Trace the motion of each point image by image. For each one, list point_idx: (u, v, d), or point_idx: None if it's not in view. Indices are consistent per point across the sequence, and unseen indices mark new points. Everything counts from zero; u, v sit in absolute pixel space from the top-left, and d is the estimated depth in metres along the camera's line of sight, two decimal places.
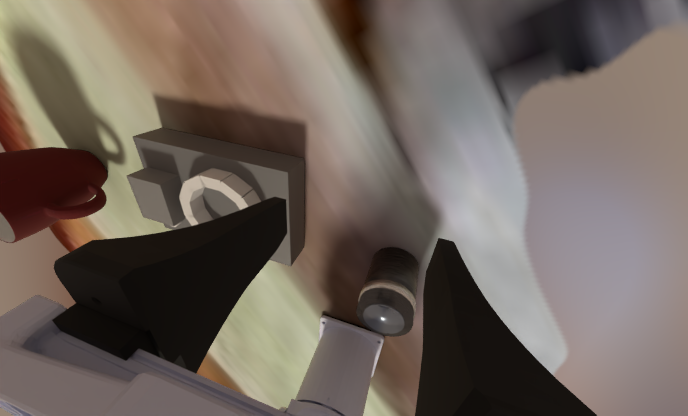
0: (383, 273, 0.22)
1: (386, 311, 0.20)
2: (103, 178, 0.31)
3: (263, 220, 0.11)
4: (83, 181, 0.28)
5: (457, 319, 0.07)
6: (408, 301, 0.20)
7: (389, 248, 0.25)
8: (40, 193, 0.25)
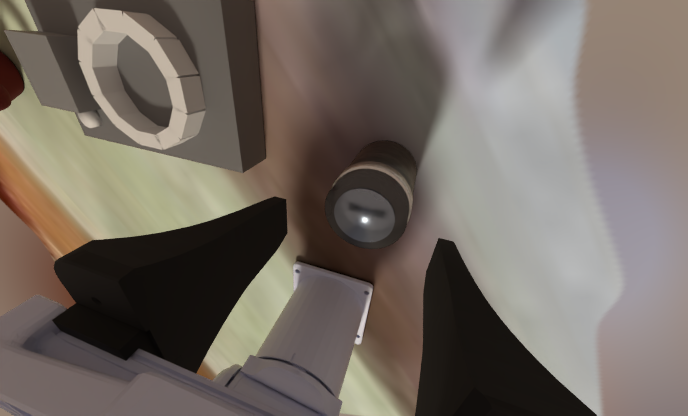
0: (365, 158, 0.15)
1: (367, 199, 0.13)
2: (15, 83, 0.25)
3: (263, 220, 0.11)
4: None
5: (457, 319, 0.07)
6: (400, 186, 0.13)
7: (376, 142, 0.18)
8: None
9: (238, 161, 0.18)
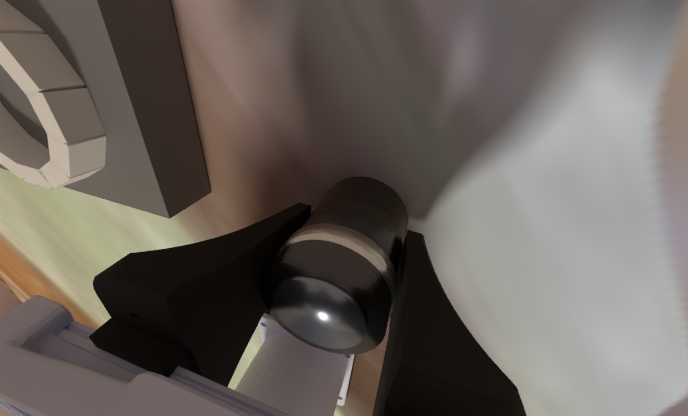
0: (326, 214, 0.10)
1: (320, 295, 0.08)
2: None
3: (291, 228, 0.11)
4: None
5: (406, 303, 0.07)
6: (376, 271, 0.08)
7: (350, 179, 0.13)
8: None
9: (161, 204, 0.13)
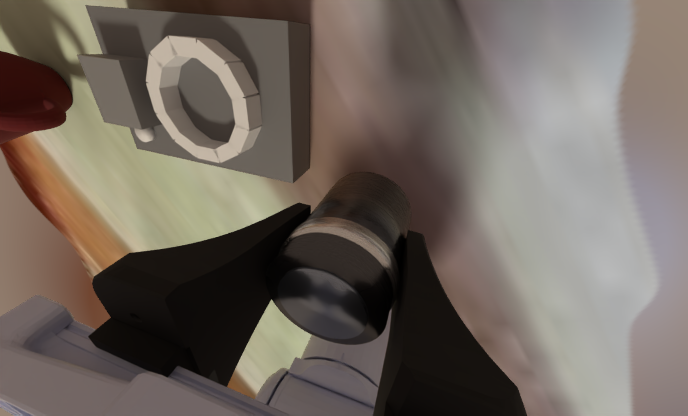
0: (330, 208, 0.10)
1: (322, 285, 0.08)
2: (66, 99, 0.26)
3: (290, 228, 0.11)
4: (36, 93, 0.23)
5: (407, 303, 0.07)
6: (377, 263, 0.08)
7: (354, 174, 0.13)
8: None
9: (289, 172, 0.19)
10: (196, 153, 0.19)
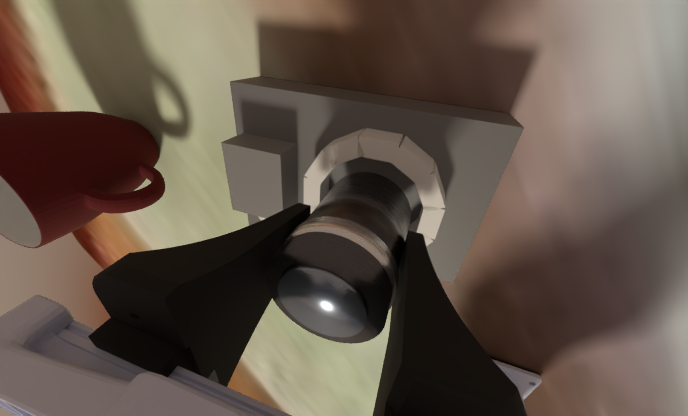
0: (327, 208, 0.10)
1: (320, 284, 0.08)
2: (155, 159, 0.23)
3: (290, 228, 0.11)
4: (134, 160, 0.20)
5: (407, 303, 0.07)
6: (374, 260, 0.08)
7: (352, 174, 0.13)
8: (80, 174, 0.17)
9: (452, 273, 0.17)
10: None
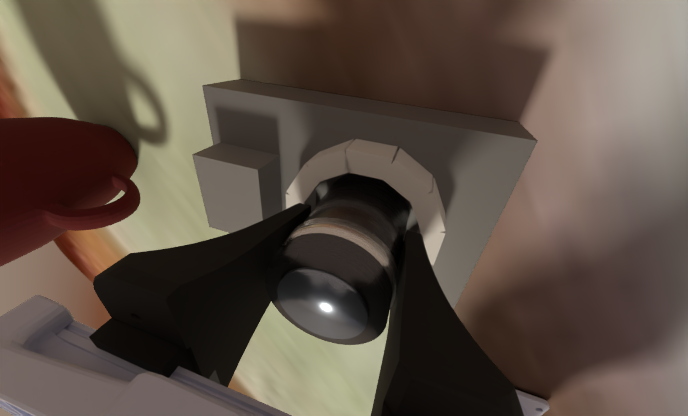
0: (325, 209, 0.10)
1: (321, 285, 0.08)
2: (132, 167, 0.21)
3: (291, 228, 0.11)
4: (105, 170, 0.18)
5: (405, 303, 0.07)
6: (374, 260, 0.08)
7: (349, 175, 0.13)
8: (39, 188, 0.15)
9: (453, 297, 0.15)
10: None
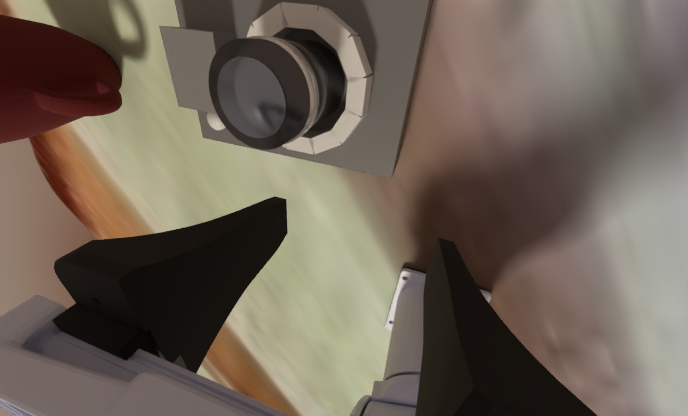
0: None
1: (247, 71, 0.10)
2: (116, 82, 0.23)
3: (263, 220, 0.11)
4: (90, 74, 0.21)
5: (457, 319, 0.07)
6: (290, 55, 0.11)
7: None
8: (29, 70, 0.17)
9: (390, 166, 0.17)
10: None
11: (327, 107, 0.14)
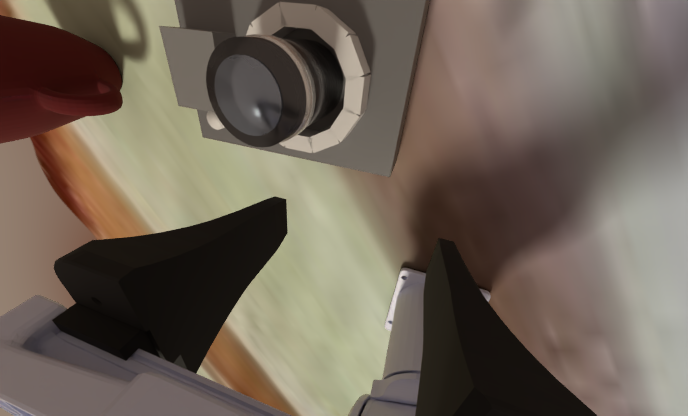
0: None
1: (243, 69, 0.11)
2: (117, 83, 0.24)
3: (263, 220, 0.11)
4: (91, 74, 0.21)
5: (457, 319, 0.07)
6: (286, 54, 0.11)
7: None
8: (31, 70, 0.17)
9: (388, 165, 0.17)
10: (284, 142, 0.17)
11: (324, 106, 0.14)
